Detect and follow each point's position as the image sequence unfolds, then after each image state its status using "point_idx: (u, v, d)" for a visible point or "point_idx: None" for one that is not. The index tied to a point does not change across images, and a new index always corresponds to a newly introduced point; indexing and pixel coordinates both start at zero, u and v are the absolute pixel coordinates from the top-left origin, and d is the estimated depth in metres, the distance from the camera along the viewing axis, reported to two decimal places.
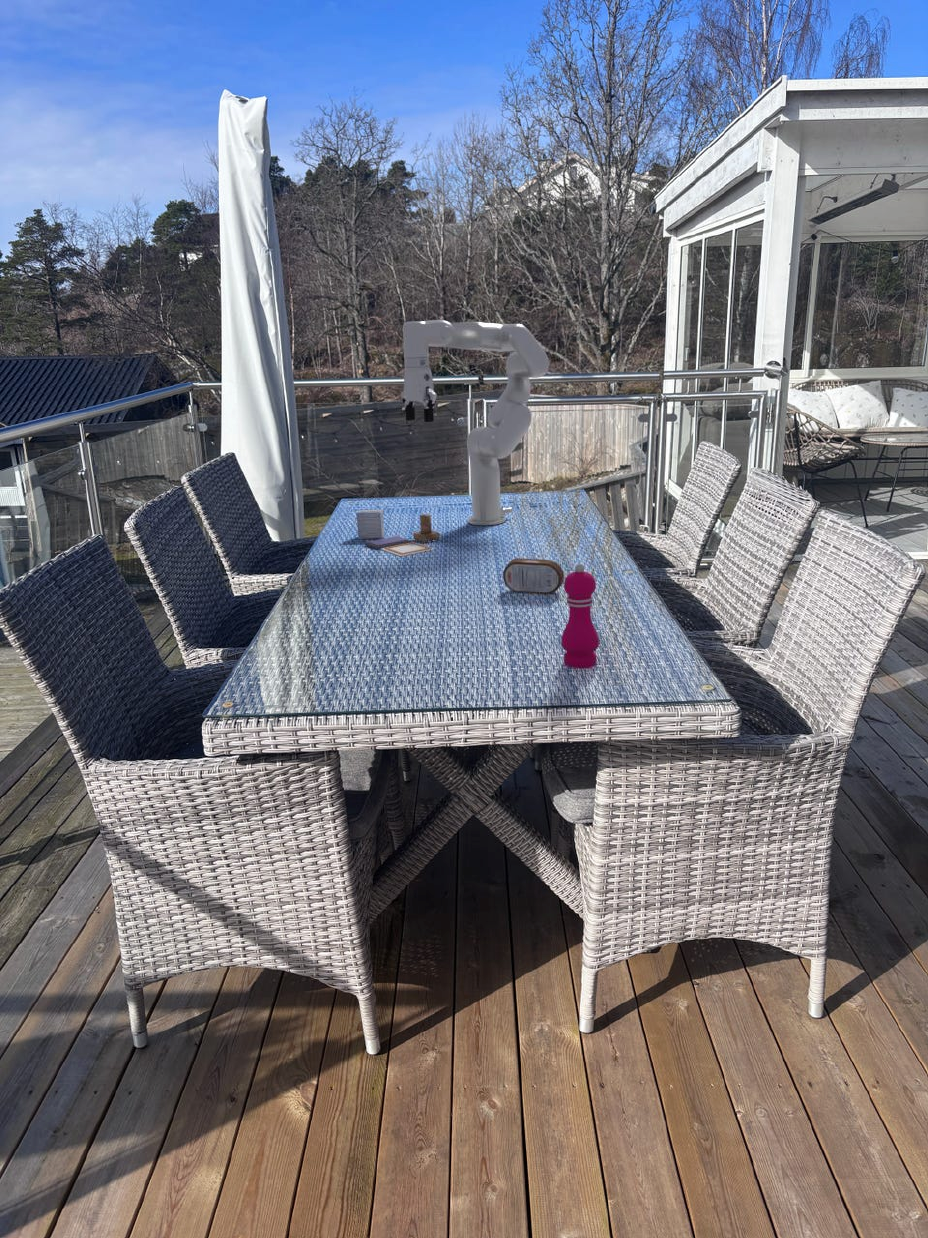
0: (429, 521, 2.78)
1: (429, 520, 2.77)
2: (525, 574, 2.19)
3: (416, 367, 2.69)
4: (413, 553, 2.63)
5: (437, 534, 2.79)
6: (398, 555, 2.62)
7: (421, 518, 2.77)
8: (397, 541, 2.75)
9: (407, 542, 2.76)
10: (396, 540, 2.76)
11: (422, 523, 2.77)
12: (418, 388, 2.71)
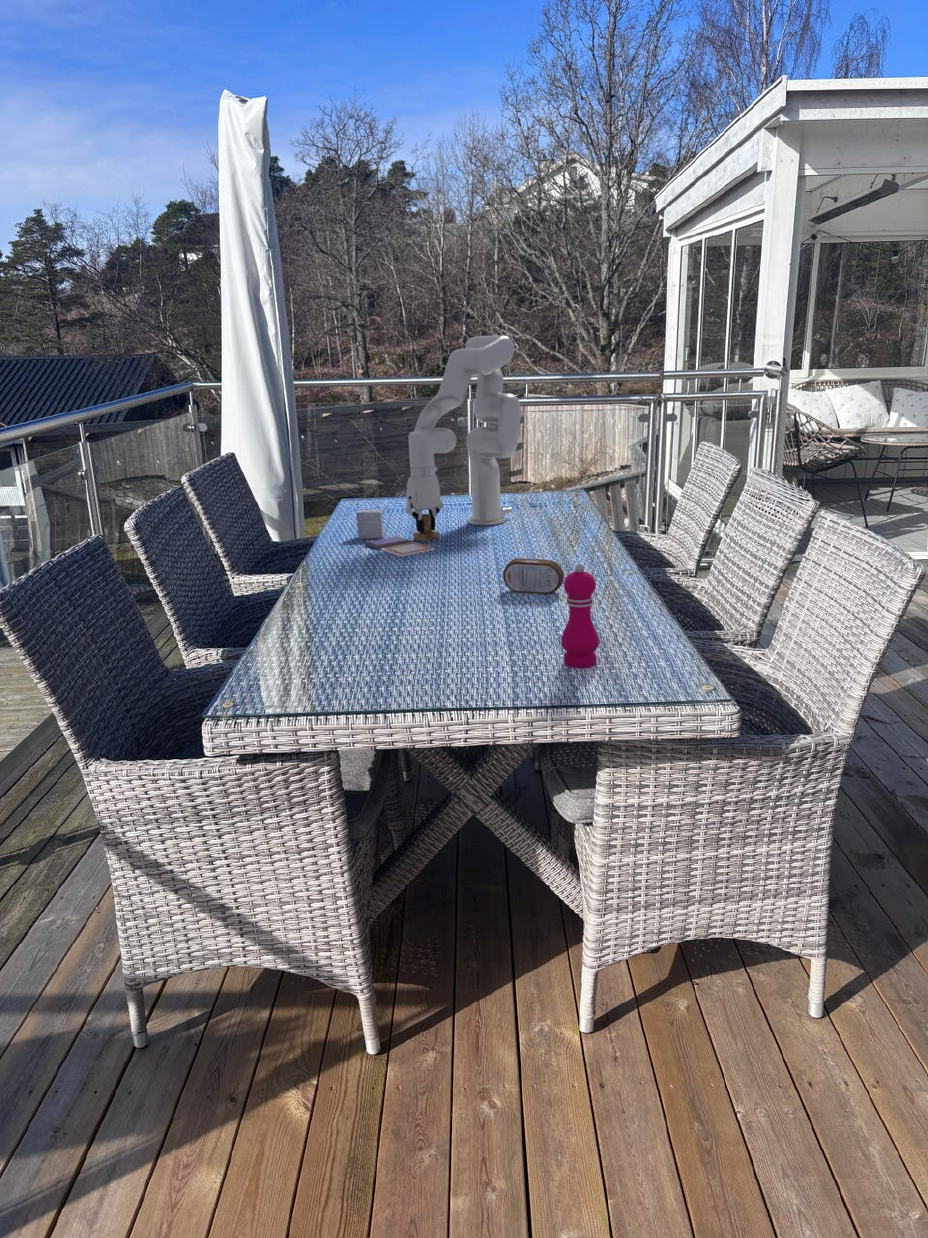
0: (429, 521, 2.77)
1: (429, 520, 2.77)
2: (525, 574, 2.19)
3: (434, 474, 2.74)
4: (413, 553, 2.63)
5: (437, 534, 2.79)
6: (398, 555, 2.62)
7: None
8: (397, 541, 2.75)
9: (407, 542, 2.76)
10: (396, 540, 2.76)
11: None
12: (437, 494, 2.76)
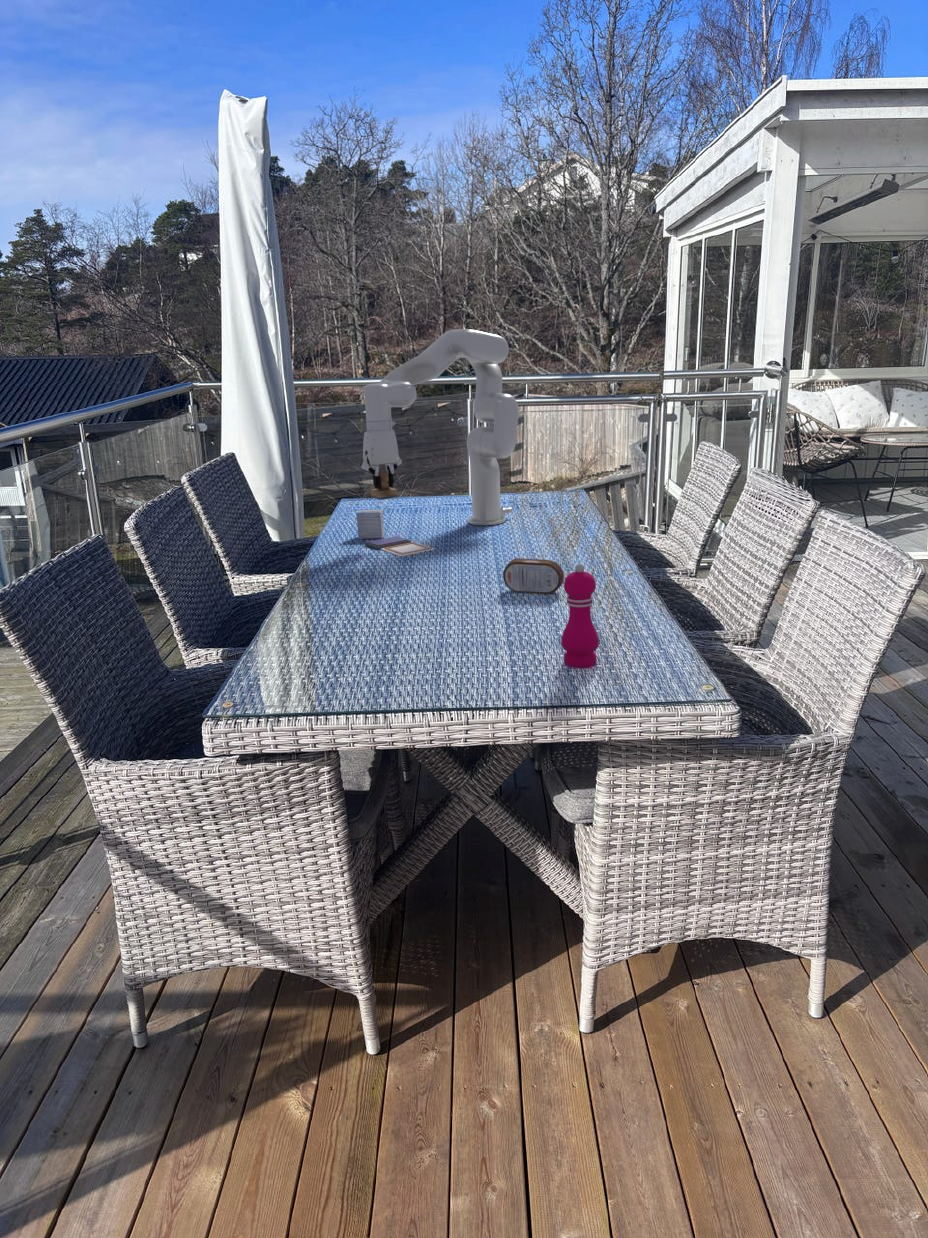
0: (386, 477, 2.69)
1: (386, 476, 2.69)
2: (525, 574, 2.19)
3: None
4: (413, 553, 2.63)
5: (395, 490, 2.71)
6: (398, 555, 2.62)
7: None
8: (397, 541, 2.75)
9: (407, 542, 2.76)
10: (396, 540, 2.76)
11: None
12: (394, 449, 2.68)
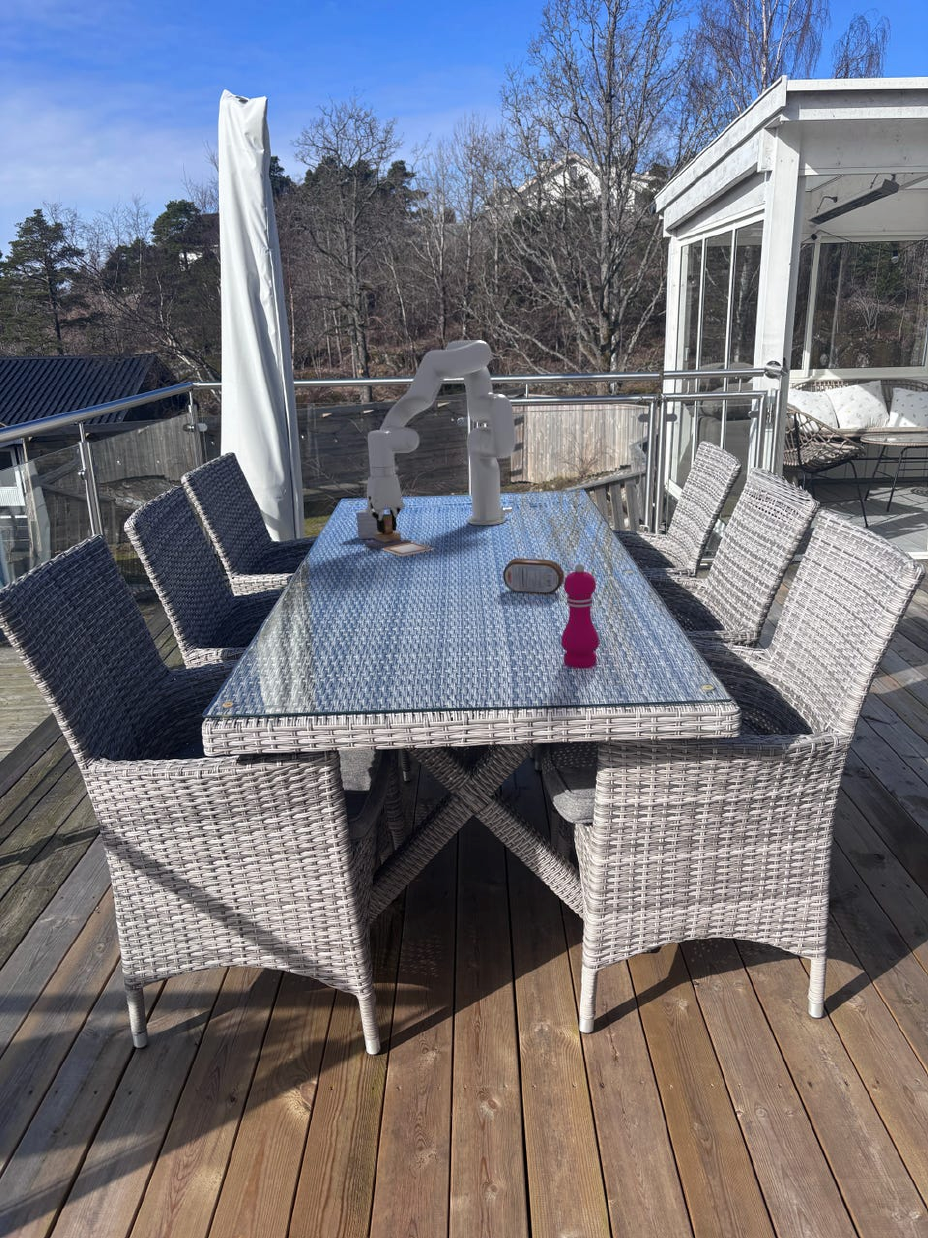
0: (390, 521, 2.74)
1: (390, 520, 2.74)
2: (525, 574, 2.19)
3: None
4: (413, 553, 2.63)
5: (398, 534, 2.75)
6: (398, 555, 2.62)
7: (382, 518, 2.73)
8: (397, 541, 2.75)
9: (407, 542, 2.76)
10: None
11: None
12: (397, 494, 2.72)
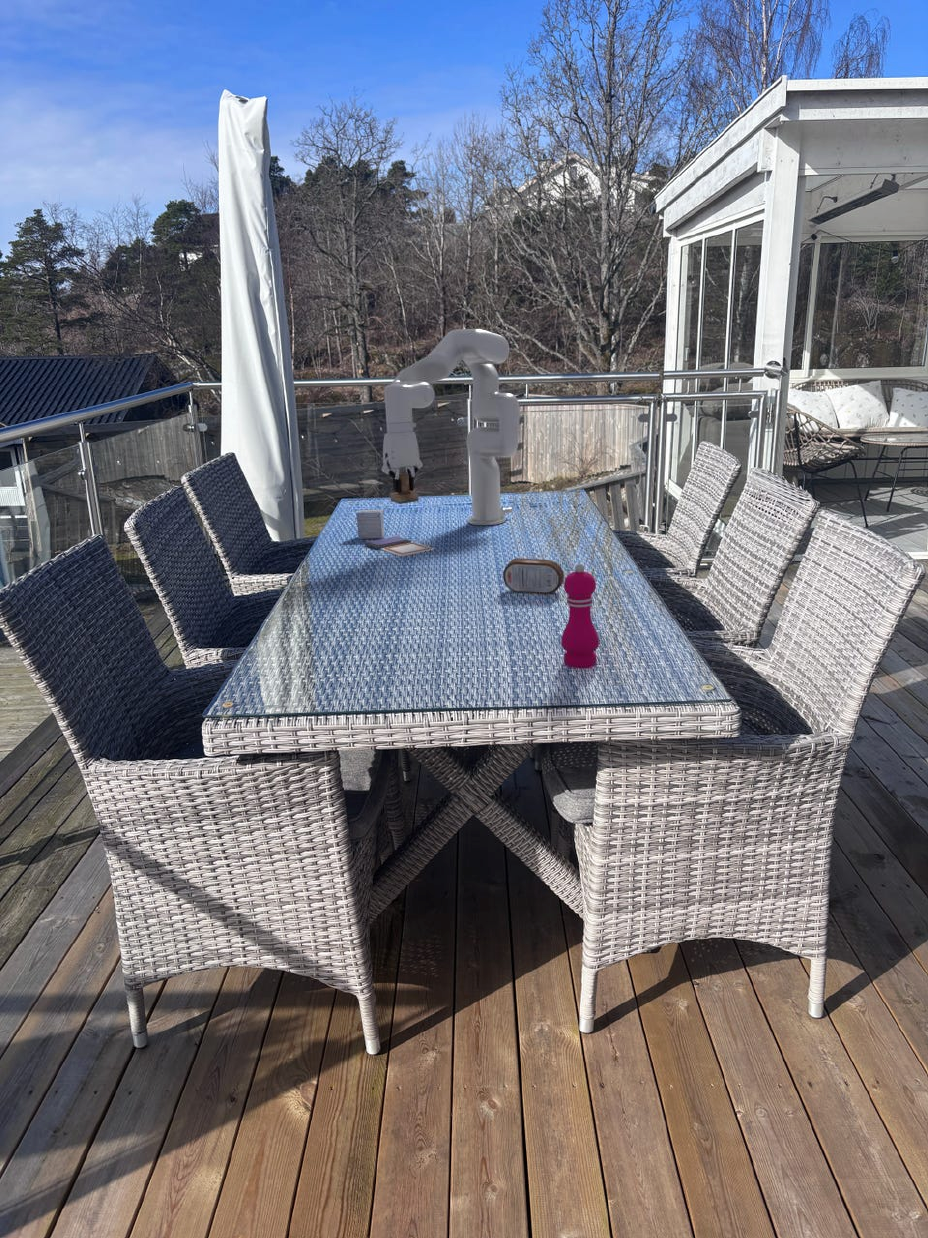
0: (407, 480, 2.62)
1: (407, 479, 2.61)
2: (525, 574, 2.19)
3: (412, 431, 2.58)
4: (413, 553, 2.63)
5: (415, 494, 2.63)
6: (398, 555, 2.62)
7: None
8: (397, 541, 2.75)
9: (407, 542, 2.76)
10: (396, 540, 2.76)
11: None
12: (415, 452, 2.60)
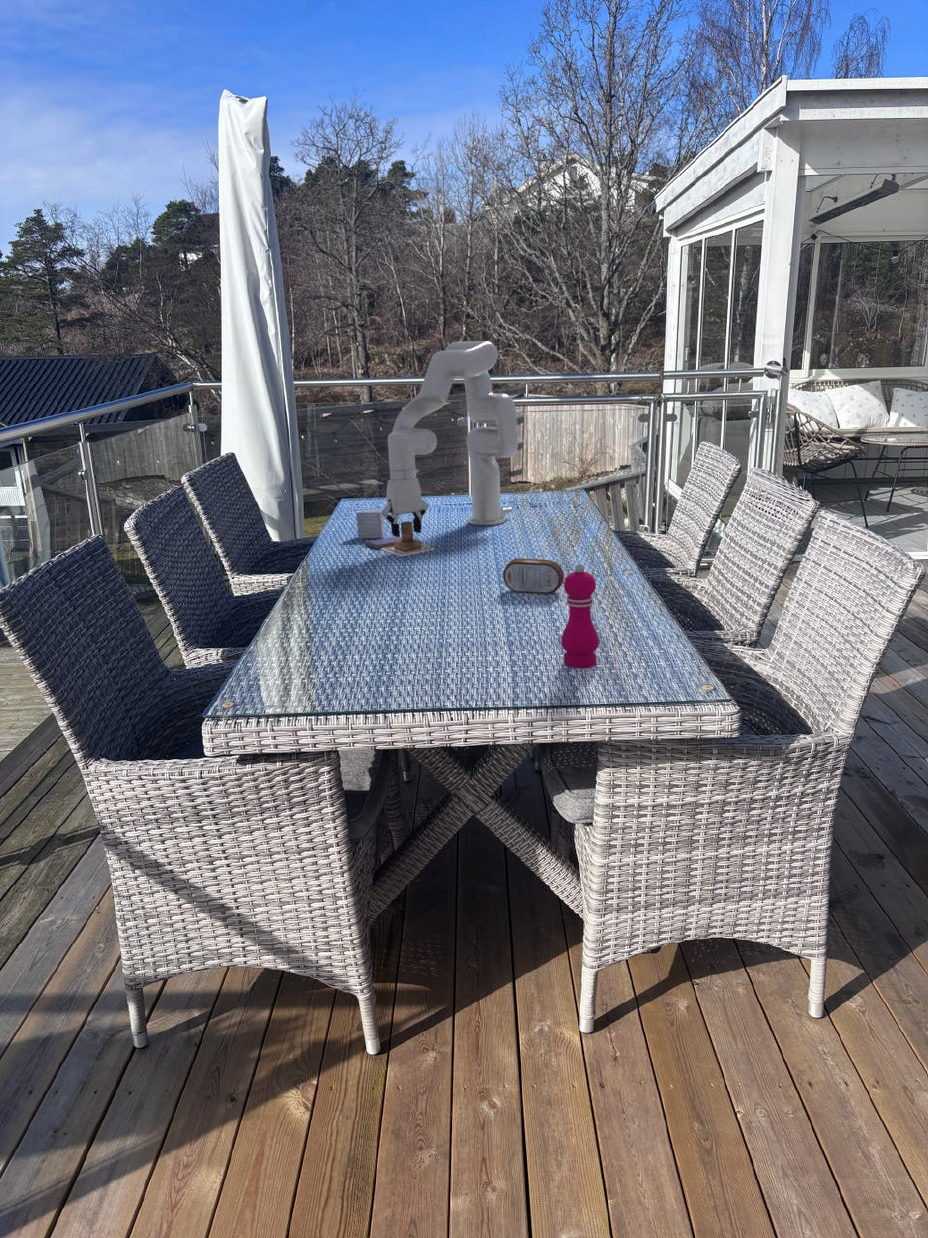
0: (410, 529, 2.66)
1: (410, 528, 2.66)
2: (525, 574, 2.19)
3: (415, 477, 2.62)
4: (413, 553, 2.63)
5: (419, 542, 2.67)
6: (398, 555, 2.62)
7: (402, 525, 2.66)
8: None
9: None
10: None
11: (403, 531, 2.66)
12: (418, 498, 2.64)
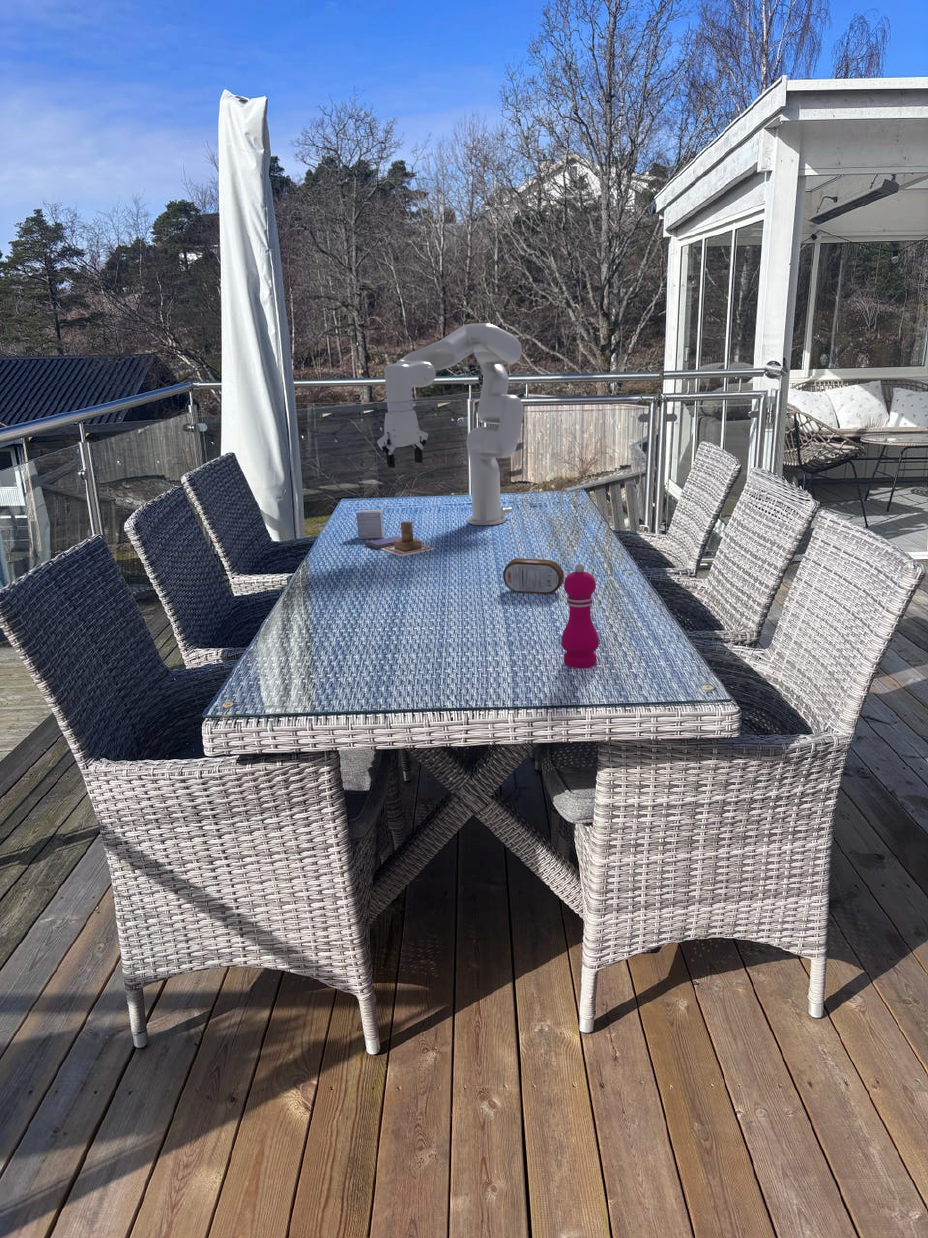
0: (410, 529, 2.66)
1: (410, 528, 2.66)
2: (525, 574, 2.19)
3: None
4: (413, 553, 2.63)
5: (419, 542, 2.67)
6: (398, 555, 2.62)
7: (402, 525, 2.66)
8: None
9: None
10: None
11: (403, 531, 2.66)
12: (415, 430, 2.66)
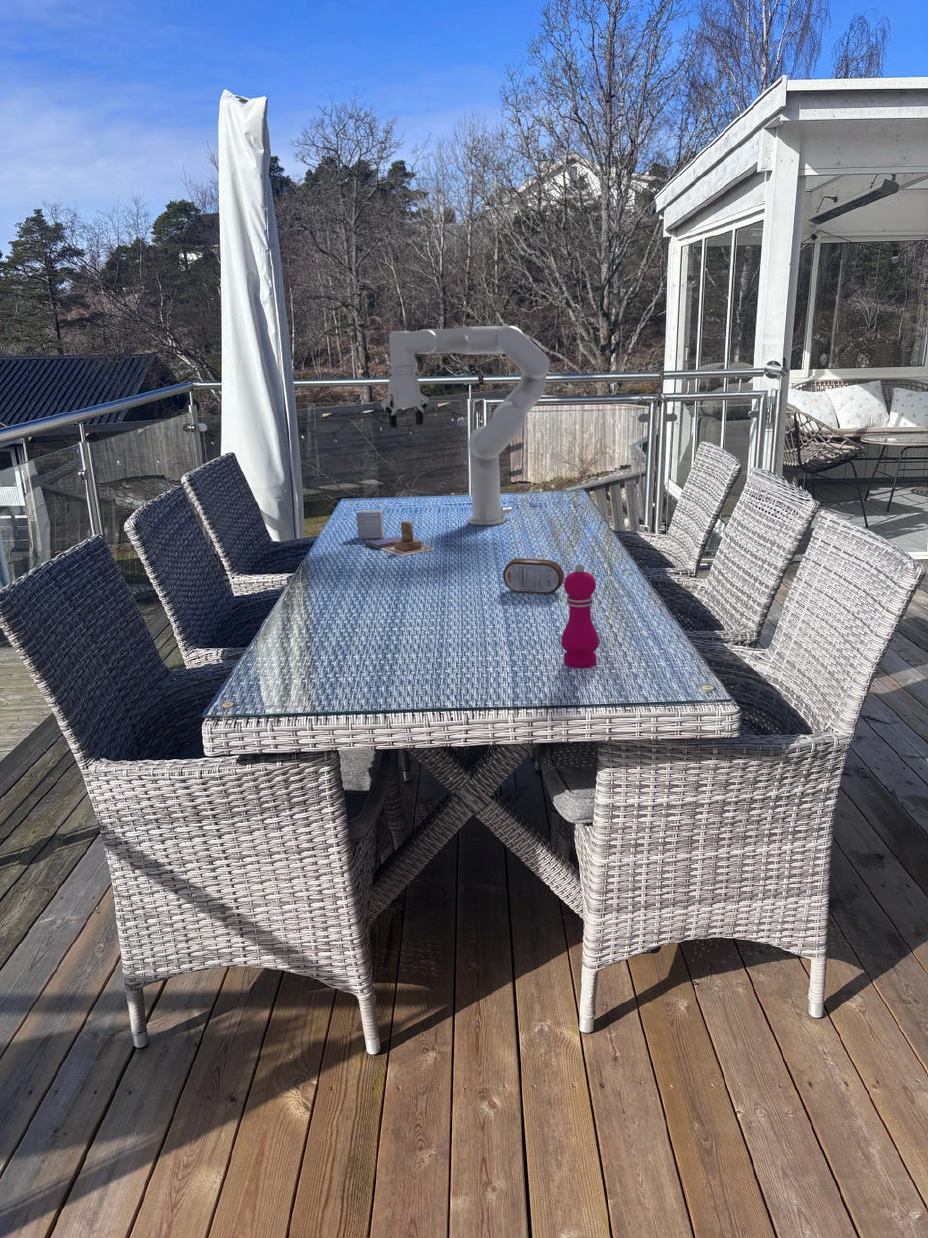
0: (410, 529, 2.66)
1: (410, 528, 2.66)
2: (525, 574, 2.19)
3: None
4: (413, 553, 2.63)
5: (419, 542, 2.67)
6: (398, 555, 2.62)
7: (402, 525, 2.66)
8: None
9: None
10: None
11: (403, 531, 2.66)
12: (417, 393, 2.86)
